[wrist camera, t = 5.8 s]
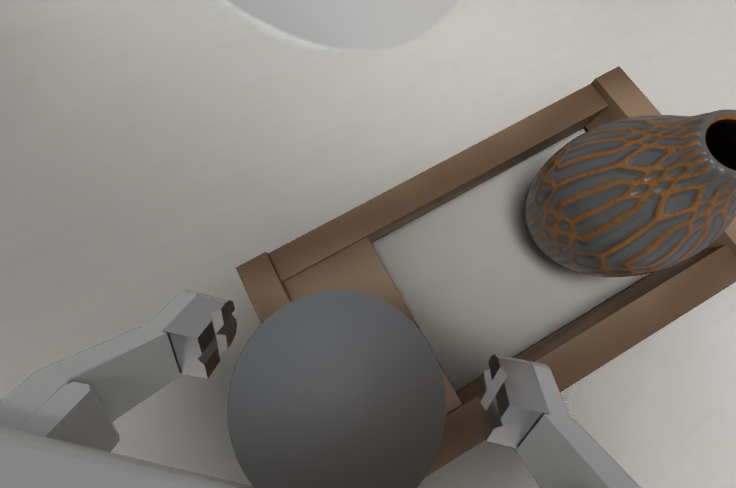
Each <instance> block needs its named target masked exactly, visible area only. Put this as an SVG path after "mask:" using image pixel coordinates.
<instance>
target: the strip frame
mask: <svg viewBox="0 0 736 488" xmlns="http://www.w3.org/2000/svg"><path fill="white" fill-rule="evenodd" d="M643 115H661V114H660V112H659V111H658V110H657V109H656V108H655V107H654V106H653V104H652V103H651V102H650V101H649V100H648V99H647V98H646V96H645V95H644V94H643V93H642V92H641V91H640V90H639V88H638V87H637V86H636V85H635V84H634V83H633V82H632V80H631V79H630V78H629V77H628V76H627V75H626V74H625V72H624V71H623V70H622V69H621V68H620V67H617V68H615V69H613V70H611V71H609V72H607V73H605V74H603V75H602V76H600V77H598V78H596V79H595V80H594V81H593V82H592V83H591V84H589V85H588V86H586V87H584V88H582V89H580V90H578V91H576V92H574V93H572V94H570V95H569V96H567V97H565V98H563V99H561V100H559V101H557V102H555V103H553V104H551V105H550V106H548V107H546V108H544V109H542V110H540V111H538V112H536V113H534V114H533V115H531V116H529V117H527V118H525V119H523V120H521V121H519V122H517V123H515V124H514V125H512V126H510V127H508V128H506V129H504V130H502V131H500V132H498V133H496V134H495V135H493V136H491V137H489V138H487V139H485V140H483V141H481V142H479V143H477V144H476V145H474V146H472V147H470V148H468V149H466V150H464V151H462V152H460V153H458V154H457V155H455V156H453V157H451V158H449V159H447V160H445V161H443V162H441V163H439V164H438V165H436V166H434V167H432V168H430V169H428V170H426V171H424V172H422V173H420V174H419V175H417V176H415V177H413V178H411V179H409V180H407V181H405V182H403V183H402V184H400V185H398V186H396V187H394V188H392V189H390V190H388V191H386V192H384V193H383V194H381V195H379V196H377V197H375V198H373V199H371V200H369V201H367V202H365V203H364V204H362V205H360V206H358V207H356V208H354V209H352V210H350V211H348V212H346V213H345V214H343V215H341V216H339V217H337V218H335V219H333V220H331V221H329V222H327V223H326V224H324V225H322V226H320V227H318V228H316V229H314V230H312V231H310V232H308V233H307V234H305V235H303V236H301V237H299V238H297V239H295V240H293V241H291V242H289V243H288V244H286V245H284V246H282V247H280V248H278V249H276V250H274V251H272V252H271V253H269V254H268V253H266V252H265V253H263V254H261V255H259V256H257V257H255V258H253V259H252V260H250V261H248V262H246V263H244V264H242V265H240V266H238V267H236V269H237V271H238V274H239V276H240V278H241V280H242V282H243V285H244V287H245V289H246V291H247V293H248V296H249V298H250V300H251V302H252V304H253V306H254V309H255V311H256V313H257V315H258V317H259V320H260V322H261V324H262V325H261V326H260V327H259V328H258V329H257V330H256V331H255V333H254V334H253V335H252V337H251V338H250V339H249V341H248V342H247V344H246V346H245V348H244V349H243V351H242V353H241V355H240V357H239V360H238V362H237V364H236V367H235V370H234V373H233V377H232V380H231V385H230V391H229V398H228V422H229V431H230V436H231V441H232V445H233V448H234V451H235V454H236V457H237V459H238V461H239V464H240V466H241V468H242V470H243V472H244V473H245V475H246V477H247V478H248V480H249V481H250V483H251V484H252V486H253V487H254V488H417V487H418V486H419V484H420V483H421V482H422V480H423V479H424V478H425V477H426V476H428V475H429V474H431V473H432V472H434V471H436V470H437V469H439V468H440V467H442V466H444V465H445V464H447V463H448V462H450V461H451V460H453V459H455V458H456V457H458V456H459V455H461V454H463V453H464V452H466V451H467V450H469V449H471V448H472V447H474V446H475V445H477V444H479V443H480V442H482V441H483V440H485V439H486V436H485V430H484V424H483V418H482V417H483V416H484V414H485V412H486V410H485V409H484V407H483V406H482V405H481V403H480V399H479V382H480V378H479V379H477V380H476V381H474V382H472V383H471V384H469V385H468V386H466V387H464V388H463V389H461V390H459V391H458V392H455V390H454V389H453V387H452V385H451V383H450V382H449V380H448V378H447V376H446V375H445V373H444V371H443V369H442V368H441V366H440V364H439V362H438V361H437V359H436V356H435V354H434V352H433V350H432V348H431V346H430V344H429V343H428V341H427V340H426V338H425V337H424V335H423V334H422V332H421V331H420V329H419V327H418V325H417V324H416V322H415V320H414V318H413V316H412V315H411V313H410V311H409V309H408V308H407V306H406V304H405V302H404V301H403V299H402V297H401V295H400V294H399V292H398V290H397V288H396V287H395V285H394V283H393V281H392V280H391V278H390V276H389V274H388V272H387V271H386V269H385V267H384V265H383V264H382V262H381V260H380V258H379V257H378V255H377V253H376V251H375V250H374V248H373V246H372V244H371V242H373V241H375V240H377V239H379V238H381V237H382V236H384V235H386V234H388V233H390V232H392V231H393V230H395V229H397V228H399V227H401V226H403V225H405V224H406V223H408V222H410V221H412V220H414V219H416V218H417V217H419V216H421V215H423V214H425V213H427V212H429V211H430V210H432V209H434V208H436V207H438V206H440V205H442V204H443V203H445V202H447V201H449V200H451V199H453V198H454V197H456V196H458V195H460V194H462V193H464V192H466V191H467V190H469V189H471V188H473V187H475V186H477V185H479V184H480V183H482V182H484V181H486V180H488V179H490V178H491V177H493V176H495V175H497V174H499V173H501V172H503V171H504V170H506V169H508V168H510V167H512V166H514V165H515V164H517V163H519V162H521V161H523V160H525V159H527V158H528V157H530V156H532V155H534V154H536V153H538V152H540V151H541V150H543V149H545V148H547V147H549V146H551V145H552V144H554V143H556V142H558V141H560V140H562V139H564V138H565V137H567V136H569V135H571V134H573V133H575V132H577V131H578V130H580V129H582V128H584V127H586V129H587V130H588V131H590V130H592V129H594V128H597V127H599V126H601V125H604V124H607V123H610V122H613V121H616V120H620V119H624V118H628V117H635V116H643ZM735 282H736V216H735V218H734V219H733V221H732V222H731V224H730V225H729V227H728V228H727V229H726V230H725V231H724V232H723V234H722V235H721V236H720V237H719V238H718V239H716V240H715V241H714V242H713V243H712V244H710V245H709V246H708V247H706V248H705V249H703V250H702V251H700V252H699V253H697V254H696V255H694V256H692V257H690V258H688V259H686V260H684V261H682V262H680V263H678V264H676V265H673V266H671V267H668V268H665V269H662V270H659V271H656V272H654V273H652V274H650V275H649V276H647V277H645V278H644V279H642V280H641V281H639V282H637V283H636V284H634V285H632V286H631V287H629V288H627V289H626V290H624V291H622V292H621V293H619V294H617V295H616V296H614V297H613V298H611V299H609V300H608V301H606V302H604V303H603V304H601V305H599V306H598V307H596V308H594V309H593V310H591V311H589V312H588V313H586V314H585V315H583V316H581V317H580V318H578V319H576V320H575V321H573V322H571V323H570V324H568V325H566V326H565V327H563V328H561V329H560V330H558V331H557V332H555V333H553V334H552V335H550V336H548V337H547V338H545V339H543V340H542V341H540V342H538V343H537V344H535V345H533V346H532V347H530V348H529V349H527V350H525V351H524V352H522V353H520V354H519V355H517V356H515V357H514V358H517V359H522V360H527V361H531V362H536V363H541V364H546V365H547V366H548V367H549V368H550V370H551V372H552V375H553V377H554V380H555V382H556V384H557V387H558V389H559V392H561V391H563V390H564V389H566V388H568V387H569V386H571V385H572V384H574V383H576V382H577V381H579V380H580V379H582V378H583V377H585V376H587V375H588V374H590V373H591V372H593V371H595V370H596V369H598V368H599V367H601V366H603V365H604V364H606V363H607V362H609V361H610V360H612V359H614V358H615V357H617V356H618V355H620V354H622V353H623V352H625V351H626V350H628V349H630V348H631V347H633V346H634V345H636V344H638V343H639V342H641V341H642V340H644V339H645V338H647V337H649V336H650V335H652V334H653V333H655V332H657V331H658V330H660V329H661V328H663V327H665V326H666V325H668V324H669V323H671V322H673V321H674V320H676V319H677V318H679V317H680V316H682V315H684V314H685V313H687V312H688V311H690V310H692V309H693V308H695V307H696V306H698V305H700V304H701V303H703V302H704V301H706V300H707V299H709V298H711V297H712V296H714V295H715V294H717V293H719V292H720V291H722V290H723V289H725V288H727V287H728V286H730V285H731V284H733V283H735Z"/></svg>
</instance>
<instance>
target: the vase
mask: <svg viewBox="0 0 736 488" xmlns="http://www.w3.org/2000/svg"><path fill="white" fill-rule="evenodd" d="M735 216H736V110H719V111H714V112H710V113H705V114H701V115H696V116H674V115H643V116H635V117H628V118H624V119H620V120H616V121H613V122H610V123H607V124H604V125H601V126H599V127H597V128H594V129H592V130H590V131H588V132H586V133H584V134H582V135H580V136H578V137H577V138H575V139H573V140H572V141H570V142H569V143H567V144H566V145H565V146H564V147H562V148H561V149H560V150H559V151H557V152H556V153H555V154H554V155H553V156H552V157H551V158H550V159H549V160H548V161H547V163H546V164H545V165H544V166H543V167H542V168H541V170H540V171H539V173H538V174H537V176H536V178H535V179H534V181H533V183H532V185H531V188H530V191H529V193H528V197H527V201H526V222H527V226H528V229H529V232H530V234H531V236H532V238H533V240H534V241H535V243H536V244H537V246H538V247H539V248H540V249H541V250H542V251H543V253H545V254H546V255H547V256H548V257H549V258H550V259H552V260H553V261H555V262H556V263H558V264H560V265H562V266H564V267H566V268H568V269H571V270H573V271H576V272H580V273H584V274H588V275H594V276H602V277H625V276H634V275H642V274H647V273H651V272H656V271H659V270H662V269H665V268H668V267H671V266H673V265H676V264H678V263H680V262H682V261H684V260H686V259H688V258H690V257H692V256H694V255H696V254H697V253H699V252H700V251H702V250H703V249H705V248H706V247H708V246H709V245H710V244H712V243H713V242H714V241H715V240H716V239H718V238H719V237H720V236H721V235H722V234H723V232H724V231H725V230H726V229H727V228H728V227H729V225H730V224H731V222H732V221H733V219H734V218H735Z"/></svg>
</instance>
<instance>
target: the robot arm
mask: <svg viewBox="0 0 736 488" xmlns="http://www.w3.org/2000/svg"><path fill="white" fill-rule="evenodd" d="M234 310H235V308H234V303H233V301H230V300H226V299H222V298H218V297H213V296H209V295H205V294H199V293H195V292H191V291H183V292H181V293H179V294H178V295H177V296H176V297H175V298H174V299H173V300H172V301H171V302H170V303H169V304H168V305H167V306H166V307H165V308H164V309H163V310H162V311H161V312H160V313H159V314H158V315H157V316H156V317H155V318H154V319H153V320H152V321H151V322H150V323H149V324H148V325H147V326H146V327H145V328H142V327H139V328H136V329H134V330H132V331H129V332H127V333H125V334H122V335H120V336H118V337H115V338H113V339H111V340H108V341H106V342H103V343H101V344H99V345H96V346H94V347H92V348H89V349H87V350H85V351H82V352H80V353H78V354H75V355H73V356H71V357H68V358H66V359H64V360H61V361H59V362H57V363H54V364H52V365H49V366H47V367H45V368H42V369H40V370H38V371H36V372H35V373H34V374H32V375H31V376H30V377H29V378H28V379H26V380H25V381H24V382H23V383H22V384H20V385H19V386H18V387H17V388H15V389H14V390H13V391H12V392H11V393H9V394H8V395H7V396H6V397H5V398H3V399H2V400H1V401H0V488H254V487H251V486H247V485H243V484H239V483H235V482H231V481H226V480H222V479H218V478H214V477H210V476H206V475H202V474H198V473H193V472H189V471H185V470H181V469H177V468H173V467H169V466H164V465H160V464H156V463H152V462H148V461H144V460H140V459H136V458H131V457H127V456H123V455H119V454H115V453H111V451H112V450H113V448H114V447H115V446H116V444H117V443H118V442H119V440H120V437H119V433H118V432H117V430H116V428H115V427H114V425H113V423H112V422H113V421H114V420H116V419H117V418H118V417H120V416H121V415H123V414H124V413H126V412H127V411H129V410H130V409H132V408H133V407H135V406H136V405H138V404H139V403H141V402H142V401H144V400H145V399H147V398H148V397H150V396H151V395H152V394H154V393H155V392H157V391H158V390H160V389H161V388H163V387H164V386H166V385H167V384H169V383H170V382H172V381H173V380H175V379H176V378H178V377H179V376H180V374H184V375H189V376H194V377H200V378H205V379H208V378H209V377H210V375H211V374H212V372H213V371H214V369H215V368H216V366H217V365H218V363H219V361H220V355H219V353H221V352H223V351H225V350H226V349H228V348H229V346H230V345H231V343H232V341H233V339H234V336H235V334H236V328H237V322H236V319H235V318H234V316H233V315H232V312H233V311H234ZM488 363H489V369H487V370H485V371H483V373H482V375H481V378H480V382H479V399H480V403H481V405H482V406H483V407H484V409H485V410H486V412H485V414H484V416H483V417H482V418H483V424H484V430H485V436H486V441H488V442H492V443H496V444H500V445H504V446H508V447H512V448H516V451H517V452H518V454H519V455H520V457H521V459H522V460H523V462H524V463H525V465H526V466H527V468H528V470H529V471H530V473H531V474H532V476H533V477H534V479H535V480H536V482H537V484H538V485H539V487H540V488H641V487H640V486H639V485H638V484H637V483H636V482H635V481H634V480H633V479H632V478H631V477H630V476H629V475H628V474H627V473H626V472H625V471H624V470H623V469H622V468H621V466H620V465H619V464H618V463H617V462H616V461H615V460H614V459H613V458H612V457H611V456H610V455H609V454H608V453H607V452H606V451H605V450H604V449H603V448H602V447H601V446H600V445H599V444H598V443H597V442H596V441H595V440H594V439H593V438H592V436H591V435H590V434H589V433H588V432H587V431H586V430H585V429H584V428H583V427H582V426H581V425H580V424H579V423H578V422H577V421H575V420H571V419H570V417H569V414H568V412H567V409H566V407H565V404H564V402H563V399H562V397H561V394H560V392H559V389H558V387H557V384H556V382H555V380H554V377H553V375H552V372H551V370H550V368H549V367H548V366H547V365H546V364H541V363H536V362H531V361H527V360H522V359H517V358H511V357H506V356H501V355H496V354H494V355H493V356H491V358H490V360H489V362H488Z"/></svg>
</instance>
